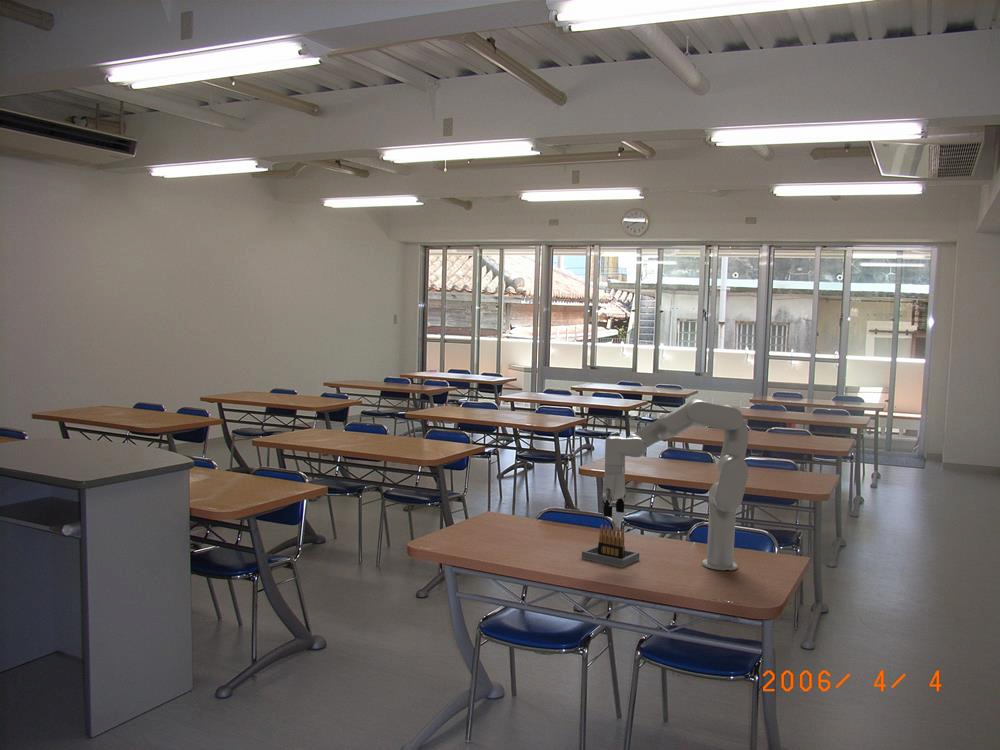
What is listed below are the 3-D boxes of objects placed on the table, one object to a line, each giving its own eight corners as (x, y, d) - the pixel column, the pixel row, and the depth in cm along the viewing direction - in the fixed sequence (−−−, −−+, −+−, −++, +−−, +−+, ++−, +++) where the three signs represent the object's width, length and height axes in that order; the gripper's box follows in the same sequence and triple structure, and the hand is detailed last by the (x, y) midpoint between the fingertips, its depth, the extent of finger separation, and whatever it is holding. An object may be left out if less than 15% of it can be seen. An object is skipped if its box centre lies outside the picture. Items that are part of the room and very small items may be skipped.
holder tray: (599, 551, 307) (599, 544, 307) (639, 559, 297) (639, 552, 297) (581, 558, 295) (581, 551, 295) (622, 567, 285) (622, 560, 285)
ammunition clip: (597, 555, 298) (598, 523, 298) (599, 554, 300) (601, 523, 299) (622, 560, 292) (623, 528, 292) (624, 559, 294) (626, 528, 293)
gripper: (616, 465, 304) (615, 509, 304) (594, 471, 290) (594, 517, 290) (634, 467, 299) (633, 511, 300) (613, 473, 285) (612, 519, 286)
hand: (614, 514), depth 295 cm, fingers open, 9 cm apart
